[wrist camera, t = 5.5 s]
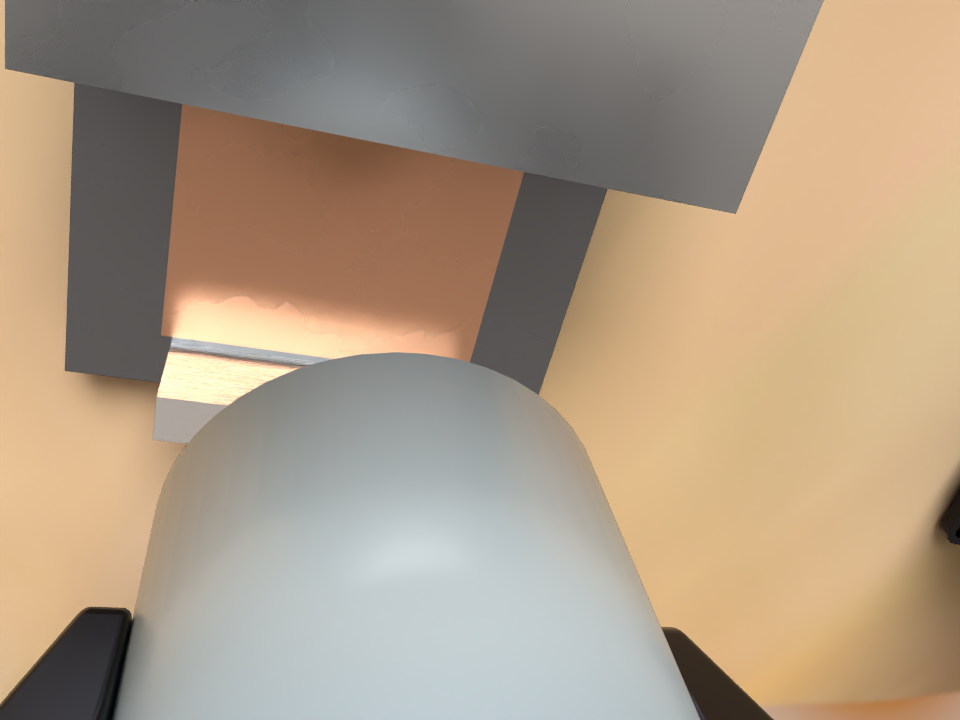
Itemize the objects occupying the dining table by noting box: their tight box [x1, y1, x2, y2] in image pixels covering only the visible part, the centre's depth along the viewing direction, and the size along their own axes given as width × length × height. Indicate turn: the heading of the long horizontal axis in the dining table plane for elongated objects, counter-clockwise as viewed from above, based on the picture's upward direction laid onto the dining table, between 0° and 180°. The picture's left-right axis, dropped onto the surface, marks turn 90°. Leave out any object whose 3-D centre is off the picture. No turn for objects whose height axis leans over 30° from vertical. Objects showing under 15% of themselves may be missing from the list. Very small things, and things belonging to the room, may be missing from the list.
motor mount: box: [5, 0, 824, 444], centre depth 15 cm, size 10×13×7 cm
